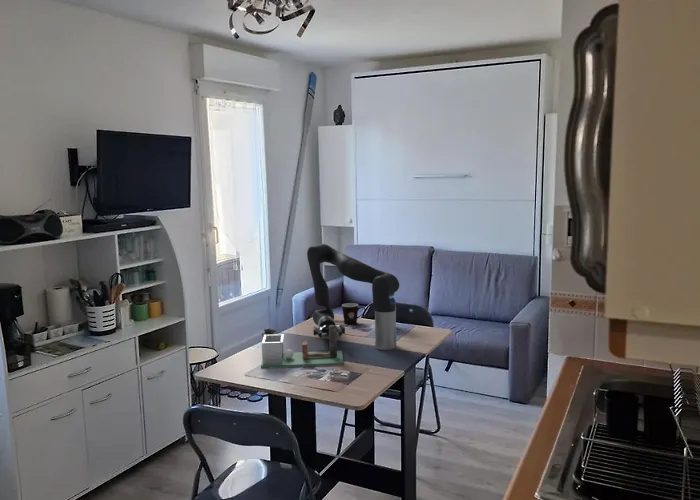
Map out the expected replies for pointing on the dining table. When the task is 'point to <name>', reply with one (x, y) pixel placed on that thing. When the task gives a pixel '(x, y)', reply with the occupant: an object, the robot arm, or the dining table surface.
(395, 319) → the beverage bottle
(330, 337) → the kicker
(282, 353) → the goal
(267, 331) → the lighter
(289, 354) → the ball
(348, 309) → the coffee mug
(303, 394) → the dining table surface
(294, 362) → the board
